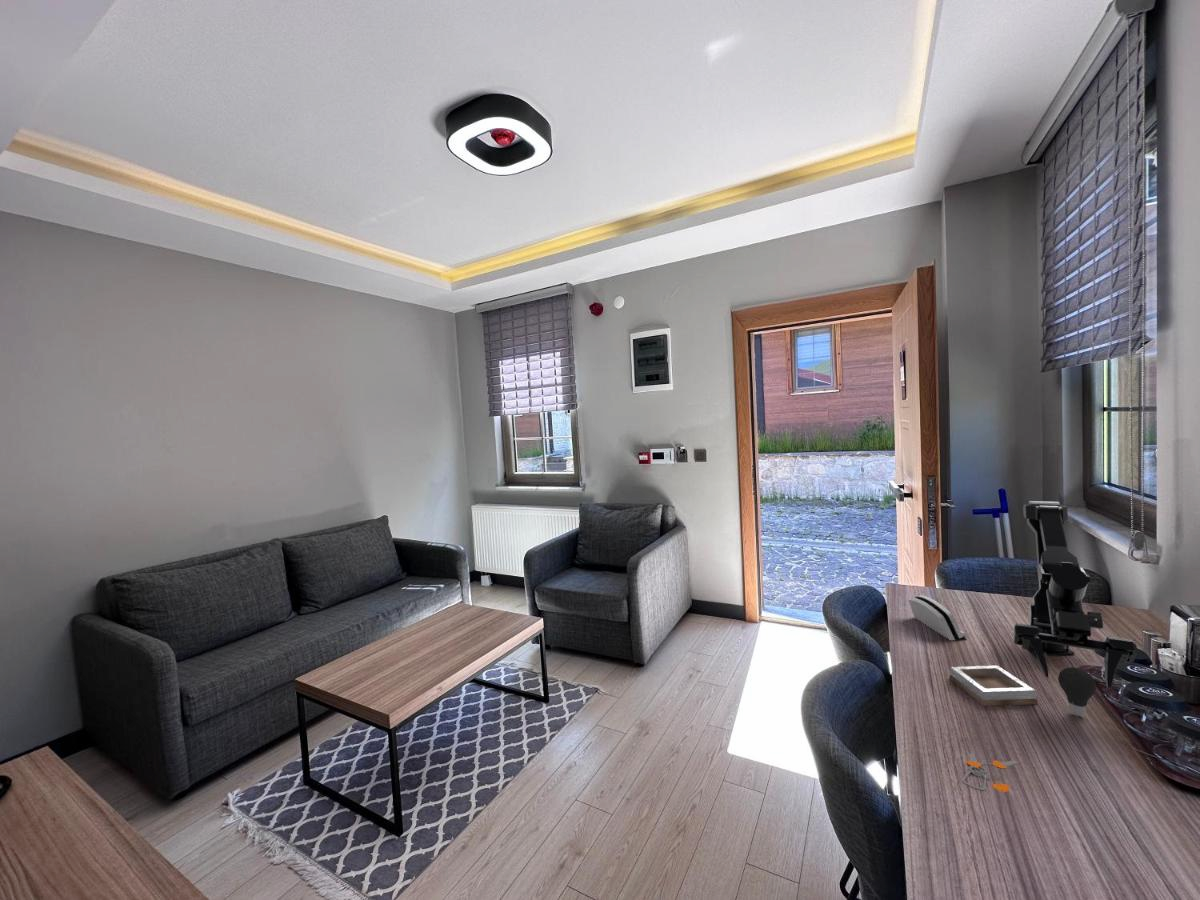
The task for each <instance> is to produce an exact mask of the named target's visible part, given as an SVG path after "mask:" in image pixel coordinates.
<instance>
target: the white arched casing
mask: <svg viewBox="0 0 1200 900" xmlns="http://www.w3.org/2000/svg"><path fill="white" fill-rule="evenodd" d="M908 603H909V606H910V609H911V612H912V614H913V617H915V618H914V619H916V618H917V619H918V620H917V619H916V620H917V621H919V620H920V621H921V622H920V621H919V622H920V623H922V622H923V623H924V625H925V624H926V625H925V626H927V627H928V626H929V627H928V628H930V629H931V628H932V630H933V629H934V630H935V631H934V630H933V631H934V632H936V631H937V632H938V634H939V633H940V634H939V635H941V636H942V635H943V636H942V637H944V638H945V637H946V638H945V639H947V638H948V639H949V641H950V640H954V641H956V638H958V639H961V638H963V637H964V638H963V639H965V640H966V639H968V640H969V638H968V636H967V634H966V633H965V632H963V631H962V630H961V629H960V627H959V625H958V622H957V621H956V619H955V618H954V615H953V614H952V612H951V611H950V610H948V609H947V608H946V607H945V606H944V605H943V604H941V603H940V602H938V601H936V600H934V599H933V598H931V597H929V596H926V595H921V594H920V595H916V596H915V597H911V598H909V599H908ZM923 623H922V624H923ZM937 632H936V633H937ZM948 639H947V640H948Z"/></svg>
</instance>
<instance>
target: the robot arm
mask: <svg viewBox="0 0 1200 900" xmlns="http://www.w3.org/2000/svg"><path fill="white" fill-rule="evenodd" d="M1068 509H1069V508H1068V506H1066V505H1062V504H1061V503H1060V502H1059V501H1041V500H1038V501H1037V500H1034V501H1033V500H1028V504H1023V509H1022V510H1023V512H1022V513H1023V517H1024V519H1026V523H1027V526H1028V527H1029V528H1030V529H1031V531H1032V532H1033V533H1034V534H1035V544H1036V545H1035V547H1036V560H1037V567H1036V569H1037V577H1038V590H1037V591H1036V592H1035V594H1034V595H1033V597H1032V599H1031V602H1030V603H1029V605H1028V612H1027V613H1028V622H1029V624H1023V623H1016V624H1015V625H1014V626H1013V633H1012V637H1013V643H1014V644H1015V645H1017V646H1021V649H1023V650H1027V651H1028V652H1029V654H1030V655H1031V656H1032V658H1033V659H1034V660H1035V661H1036V664H1037V665H1038V666H1039V668H1040V670H1041V672H1042V673H1043V675H1044V677H1045V678H1049V668H1048V665H1047V664H1048V663H1047V660H1046V657H1045V654H1046V655H1047V656H1063V655H1075V652H1074V650H1071V649H1070V647H1073V648H1078V649H1079V648H1080V649H1086V650H1091V651H1099V652H1103V653H1104V656H1105V657H1104V660H1103V664H1104V665H1103V668H1104V677H1105V679H1104V681H1105V686H1106V688H1107V689H1108V690H1110V689H1112V685H1113V681H1114V676H1115V674H1116V670H1117V669H1116V668H1117V667H1118V666H1126V663H1127V664H1129V663H1130V664H1131V663H1134V661H1135V659H1136V657H1137V655H1138V654H1139V650H1138V647H1137V644H1136V643H1135V642H1134V641H1133V640H1132V639H1129V638H1125V637H1124V638H1121V637H1116V636H1110V635H1109V636H1108V635H1107V636H1106V638H1105V640H1104V641H1100V640H1093V639H1089V637H1091V635H1092V629H1098V630H1099V629H1100V630H1101V629H1103V628H1104V621H1103V616H1102V613H1101V612H1099V611H1087V613H1086V614H1085V611H1084V605H1083V599H1084V597H1085V595H1086V591H1087V589H1088V586H1089V583H1091V576H1090V575H1089V574H1088V572H1086V571H1085V570H1084V568H1083V567H1082V566H1080V563H1079V561H1078V557H1077V556H1076V555H1074V554H1073V553H1072V552H1071V551H1070V550H1069V547H1068V542H1067V538H1066V533H1065V529H1064V524H1065V521H1069V515H1068V511H1069V510H1068Z"/></svg>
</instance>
